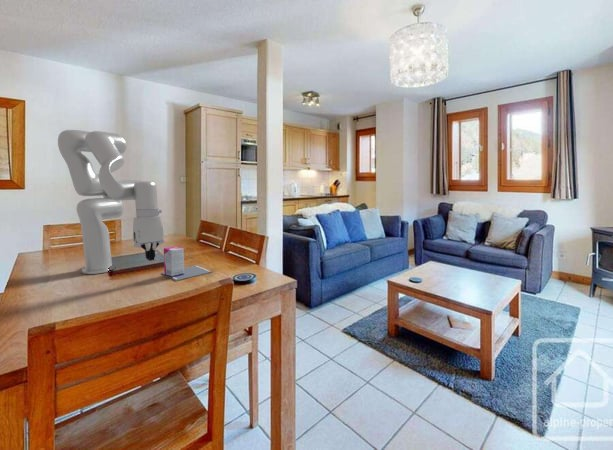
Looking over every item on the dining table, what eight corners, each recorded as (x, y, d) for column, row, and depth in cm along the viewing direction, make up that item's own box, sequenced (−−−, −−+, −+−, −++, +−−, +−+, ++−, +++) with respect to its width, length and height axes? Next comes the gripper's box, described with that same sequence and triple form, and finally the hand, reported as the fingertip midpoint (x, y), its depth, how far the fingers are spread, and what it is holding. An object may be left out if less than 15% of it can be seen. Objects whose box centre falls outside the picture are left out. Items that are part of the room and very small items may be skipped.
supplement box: (184, 274, 128) (183, 247, 126) (171, 277, 123) (170, 250, 121) (176, 271, 131) (175, 246, 130) (163, 275, 126) (162, 248, 125)
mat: (161, 273, 130) (161, 272, 130) (196, 265, 142) (196, 264, 141) (176, 281, 121) (175, 280, 120) (212, 272, 132) (212, 271, 132)
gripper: (163, 211, 124) (165, 254, 127) (122, 214, 113) (126, 261, 116) (171, 212, 119) (173, 258, 122) (129, 216, 108) (133, 265, 111)
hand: (150, 259), depth 119 cm, fingers closed
